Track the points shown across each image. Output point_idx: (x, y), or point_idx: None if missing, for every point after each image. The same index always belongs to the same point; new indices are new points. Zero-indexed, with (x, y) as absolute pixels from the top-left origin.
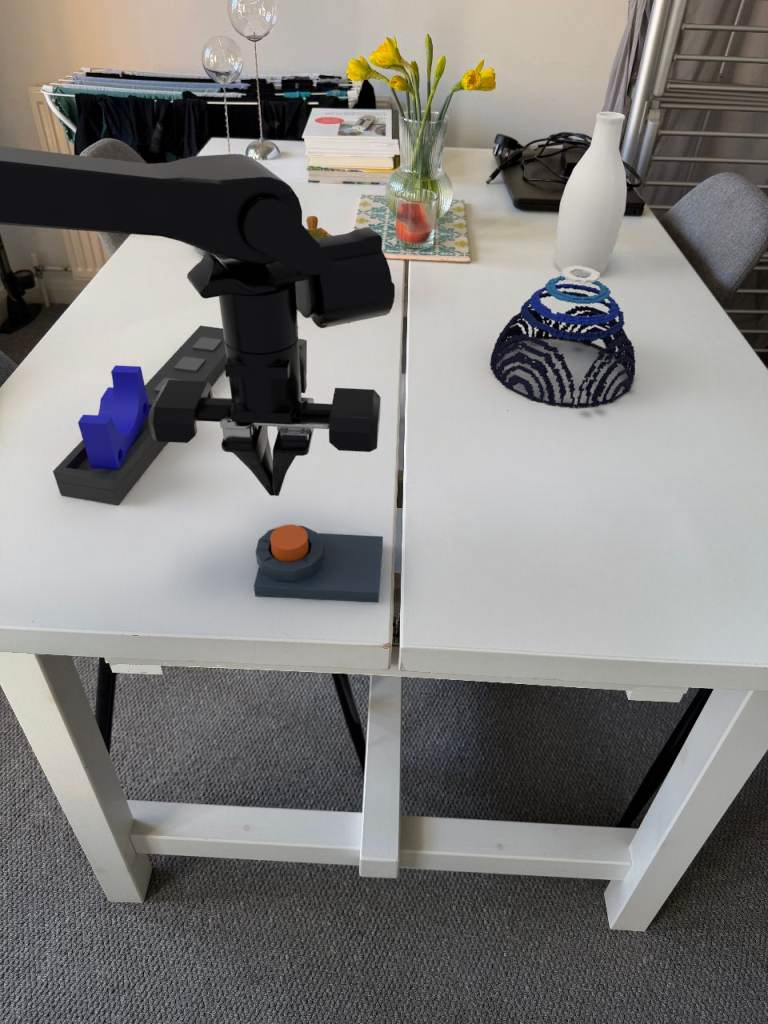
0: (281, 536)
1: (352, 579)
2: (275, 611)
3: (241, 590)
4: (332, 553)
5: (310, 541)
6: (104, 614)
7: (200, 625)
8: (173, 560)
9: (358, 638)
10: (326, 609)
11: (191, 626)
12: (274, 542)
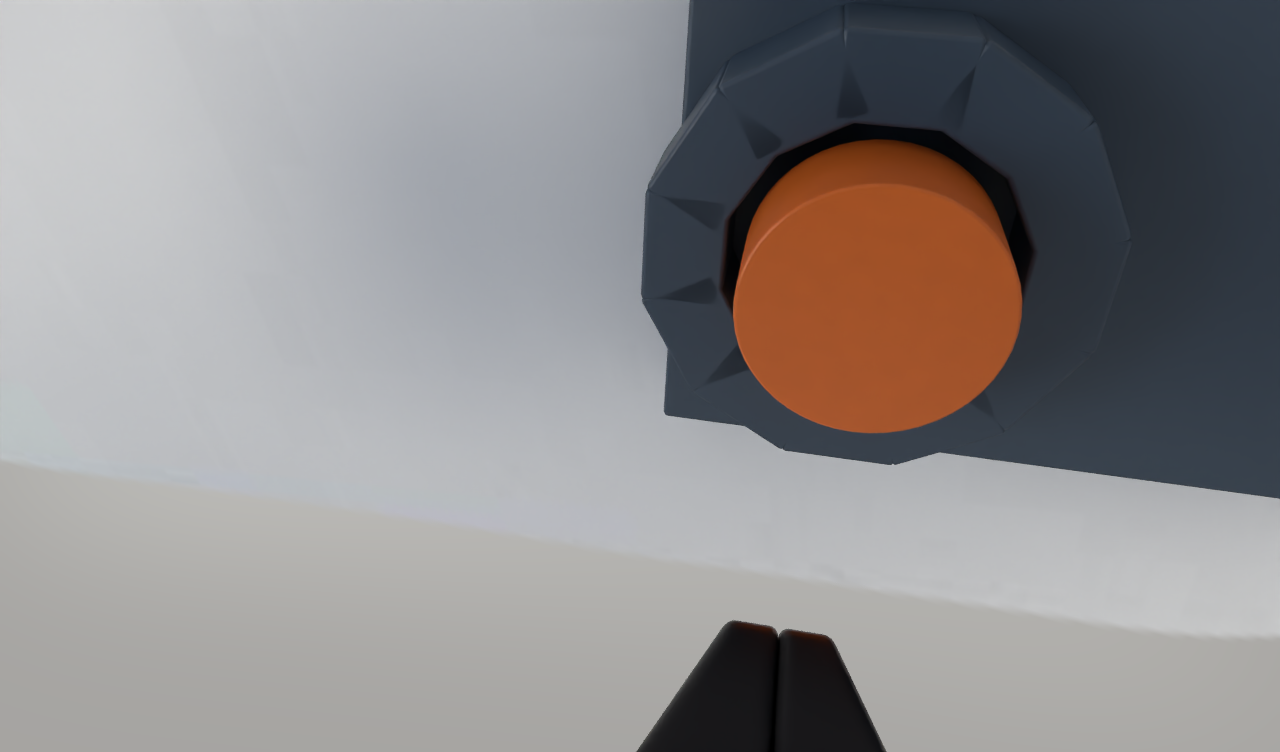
0: (815, 314)
1: (1250, 412)
2: (783, 464)
3: (601, 333)
4: (1170, 188)
5: (1029, 223)
6: (77, 418)
7: (468, 501)
8: (190, 106)
9: (1168, 628)
10: (1041, 475)
11: (434, 502)
12: (766, 370)
